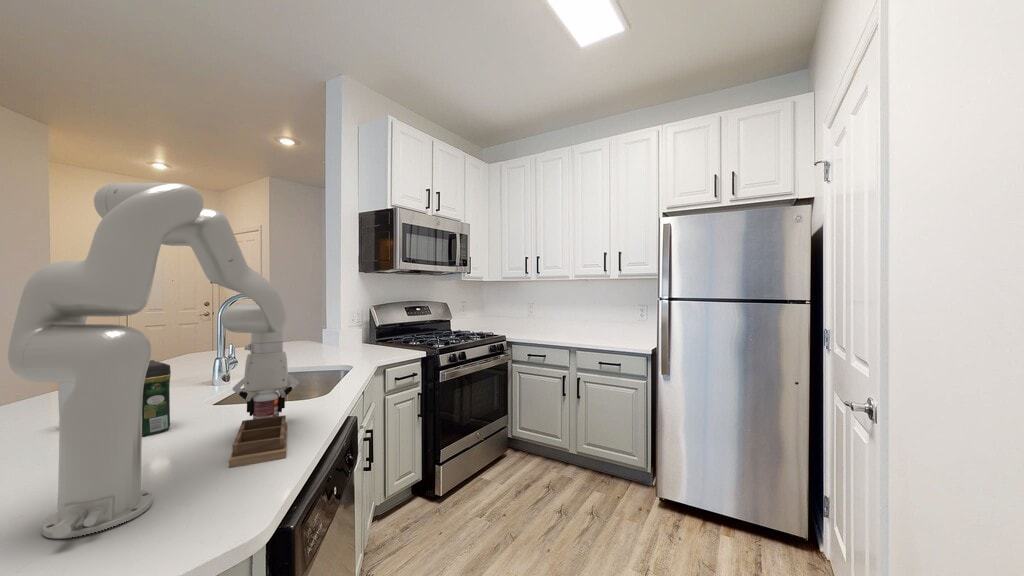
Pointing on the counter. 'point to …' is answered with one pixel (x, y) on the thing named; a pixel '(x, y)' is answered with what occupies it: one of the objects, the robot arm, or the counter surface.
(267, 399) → the pill bottle
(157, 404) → the coffee jar
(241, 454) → the caddy
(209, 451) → the counter surface
